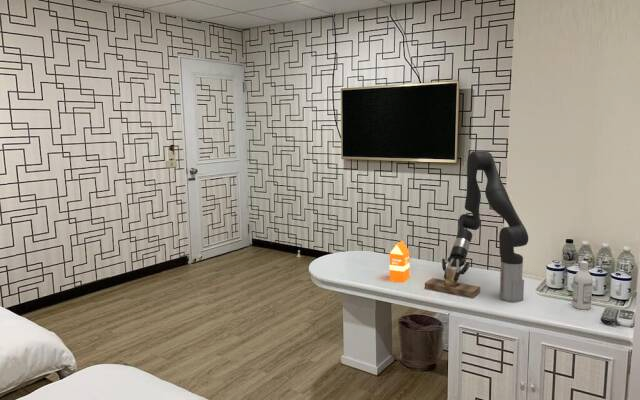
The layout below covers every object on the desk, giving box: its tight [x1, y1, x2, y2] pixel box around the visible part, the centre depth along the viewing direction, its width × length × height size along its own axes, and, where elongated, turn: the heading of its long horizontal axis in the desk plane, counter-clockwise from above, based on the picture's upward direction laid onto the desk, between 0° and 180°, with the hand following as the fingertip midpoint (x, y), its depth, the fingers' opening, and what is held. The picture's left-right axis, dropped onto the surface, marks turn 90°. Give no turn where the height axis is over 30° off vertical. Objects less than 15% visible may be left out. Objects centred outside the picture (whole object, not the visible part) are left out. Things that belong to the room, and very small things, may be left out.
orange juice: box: [389, 240, 411, 284], centre depth 244 cm, size 8×9×20 cm
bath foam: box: [571, 260, 593, 311], centre depth 200 cm, size 7×7×20 cm
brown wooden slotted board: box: [424, 277, 481, 299], centre depth 226 cm, size 24×9×3 cm, turn 52°
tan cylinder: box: [446, 266, 458, 288], centre depth 225 cm, size 4×4×10 cm
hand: (450, 279), depth 224 cm, fingers closed on tan cylinder, 4 cm apart
